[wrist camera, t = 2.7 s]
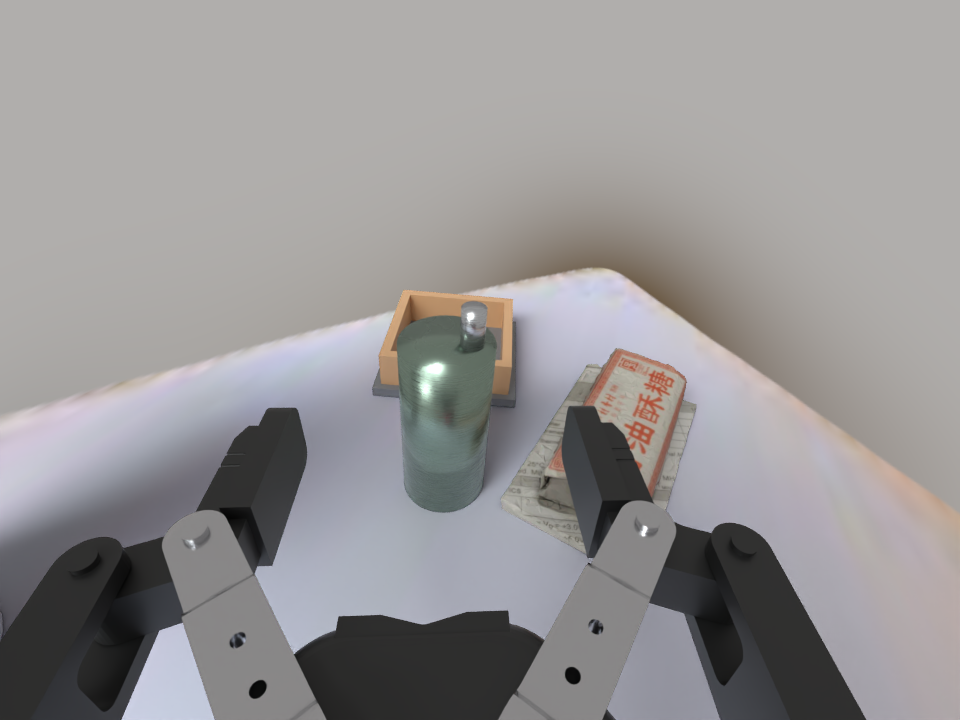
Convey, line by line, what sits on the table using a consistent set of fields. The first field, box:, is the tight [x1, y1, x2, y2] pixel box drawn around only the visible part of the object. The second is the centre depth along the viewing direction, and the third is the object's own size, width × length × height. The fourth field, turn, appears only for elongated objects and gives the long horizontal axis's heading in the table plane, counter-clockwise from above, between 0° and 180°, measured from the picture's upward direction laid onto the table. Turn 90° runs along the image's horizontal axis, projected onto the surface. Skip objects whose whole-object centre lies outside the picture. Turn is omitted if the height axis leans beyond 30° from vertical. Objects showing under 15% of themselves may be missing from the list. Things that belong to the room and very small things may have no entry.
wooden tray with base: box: [372, 290, 516, 407], centre depth 44 cm, size 12×12×4 cm
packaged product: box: [501, 348, 696, 554], centre depth 36 cm, size 18×5×10 cm
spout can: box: [397, 301, 497, 512], centre depth 30 cm, size 6×6×14 cm
